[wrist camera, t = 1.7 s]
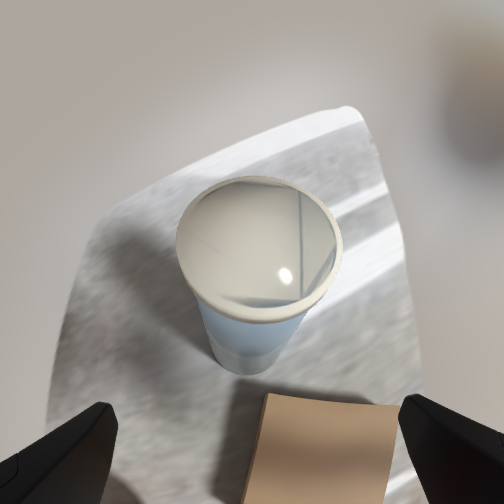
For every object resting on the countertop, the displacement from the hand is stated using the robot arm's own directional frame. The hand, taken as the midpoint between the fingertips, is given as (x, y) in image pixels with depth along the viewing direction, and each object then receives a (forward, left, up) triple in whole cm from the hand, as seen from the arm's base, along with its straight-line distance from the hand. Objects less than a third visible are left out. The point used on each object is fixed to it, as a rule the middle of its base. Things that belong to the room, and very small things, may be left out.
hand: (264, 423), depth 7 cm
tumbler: (+6, -1, -12) cm, 13 cm away
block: (-4, -4, -12) cm, 13 cm away
